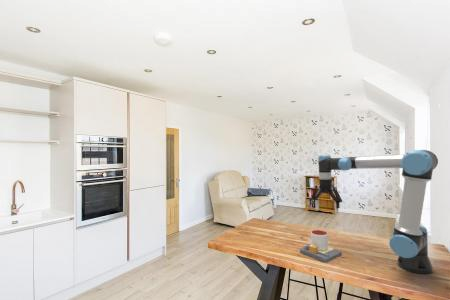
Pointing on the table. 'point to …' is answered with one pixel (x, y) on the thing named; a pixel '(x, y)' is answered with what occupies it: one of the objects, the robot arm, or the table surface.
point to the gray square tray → (321, 254)
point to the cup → (319, 239)
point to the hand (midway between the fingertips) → (326, 211)
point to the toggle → (313, 249)
